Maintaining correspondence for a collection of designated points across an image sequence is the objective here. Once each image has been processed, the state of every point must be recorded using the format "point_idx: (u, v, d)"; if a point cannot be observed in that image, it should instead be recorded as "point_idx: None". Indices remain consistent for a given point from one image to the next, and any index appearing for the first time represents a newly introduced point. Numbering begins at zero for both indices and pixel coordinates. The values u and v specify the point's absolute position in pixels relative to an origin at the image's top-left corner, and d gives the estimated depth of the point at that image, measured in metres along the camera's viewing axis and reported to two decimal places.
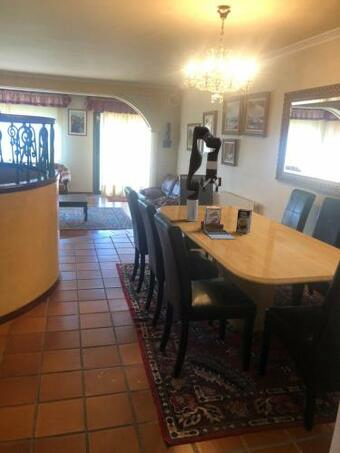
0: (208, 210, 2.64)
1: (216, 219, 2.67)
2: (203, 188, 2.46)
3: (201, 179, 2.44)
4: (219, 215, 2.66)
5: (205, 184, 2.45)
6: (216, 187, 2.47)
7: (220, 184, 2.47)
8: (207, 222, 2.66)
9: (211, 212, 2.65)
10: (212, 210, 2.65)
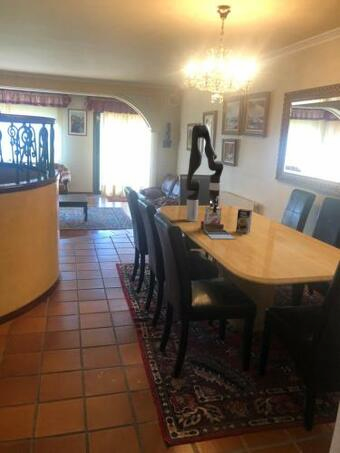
0: (208, 210, 2.64)
1: (216, 219, 2.67)
2: None
3: None
4: (219, 215, 2.66)
5: None
6: (213, 205, 2.70)
7: (212, 202, 2.72)
8: (207, 222, 2.66)
9: (211, 212, 2.65)
10: (212, 210, 2.65)
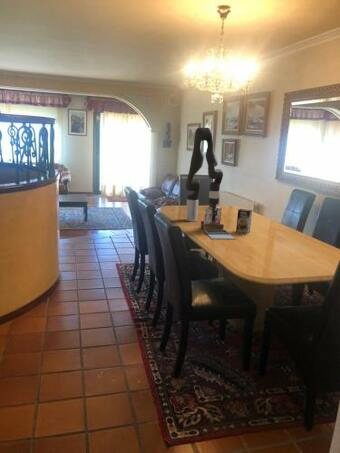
0: (208, 210, 2.64)
1: (216, 219, 2.67)
2: (214, 217, 2.65)
3: None
4: (219, 215, 2.67)
5: None
6: None
7: None
8: (207, 222, 2.66)
9: (211, 212, 2.65)
10: None
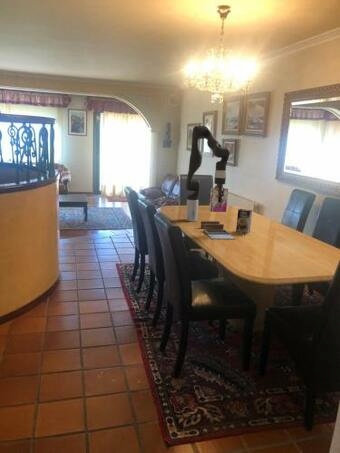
0: (214, 190, 2.50)
1: (222, 200, 2.53)
2: (221, 198, 2.51)
3: (223, 190, 2.47)
4: (226, 196, 2.53)
5: None
6: None
7: None
8: (213, 203, 2.52)
9: (217, 193, 2.51)
10: None
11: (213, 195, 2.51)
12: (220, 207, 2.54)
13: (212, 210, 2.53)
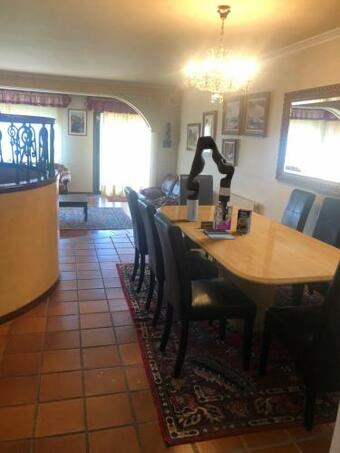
0: (218, 208, 2.41)
1: (226, 218, 2.44)
2: None
3: (228, 208, 2.38)
4: (230, 214, 2.44)
5: None
6: None
7: None
8: (217, 221, 2.44)
9: (222, 211, 2.42)
10: None
11: (217, 213, 2.42)
12: (224, 225, 2.45)
13: (216, 228, 2.45)
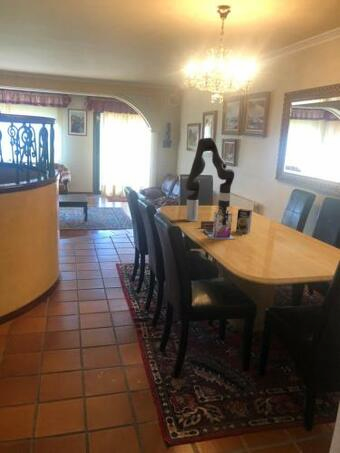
0: (218, 216, 2.42)
1: (226, 225, 2.45)
2: (225, 221, 2.42)
3: None
4: (230, 221, 2.45)
5: None
6: None
7: None
8: (216, 228, 2.45)
9: (221, 218, 2.43)
10: None
11: (217, 220, 2.43)
12: (224, 232, 2.46)
13: (215, 235, 2.46)
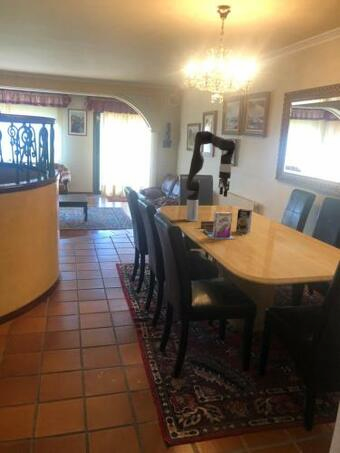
0: (218, 215, 2.43)
1: (226, 225, 2.45)
2: (226, 192, 2.38)
3: (229, 183, 2.35)
4: (230, 221, 2.45)
5: (227, 188, 2.39)
6: None
7: None
8: (216, 228, 2.45)
9: (221, 218, 2.43)
10: (222, 215, 2.43)
11: (217, 220, 2.43)
12: (223, 232, 2.46)
13: (215, 235, 2.46)
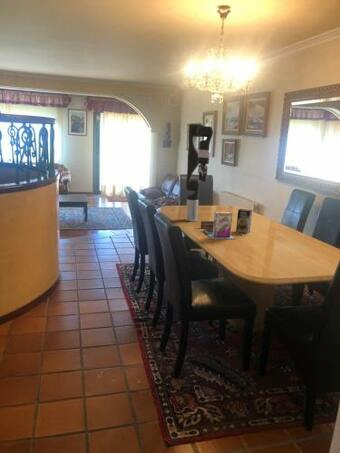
0: (218, 215, 2.43)
1: (226, 225, 2.45)
2: (205, 177, 2.47)
3: None
4: (230, 221, 2.45)
5: None
6: (202, 175, 2.56)
7: None
8: (216, 228, 2.45)
9: (221, 218, 2.43)
10: (222, 215, 2.43)
11: (217, 220, 2.43)
12: (223, 232, 2.46)
13: (215, 235, 2.46)
